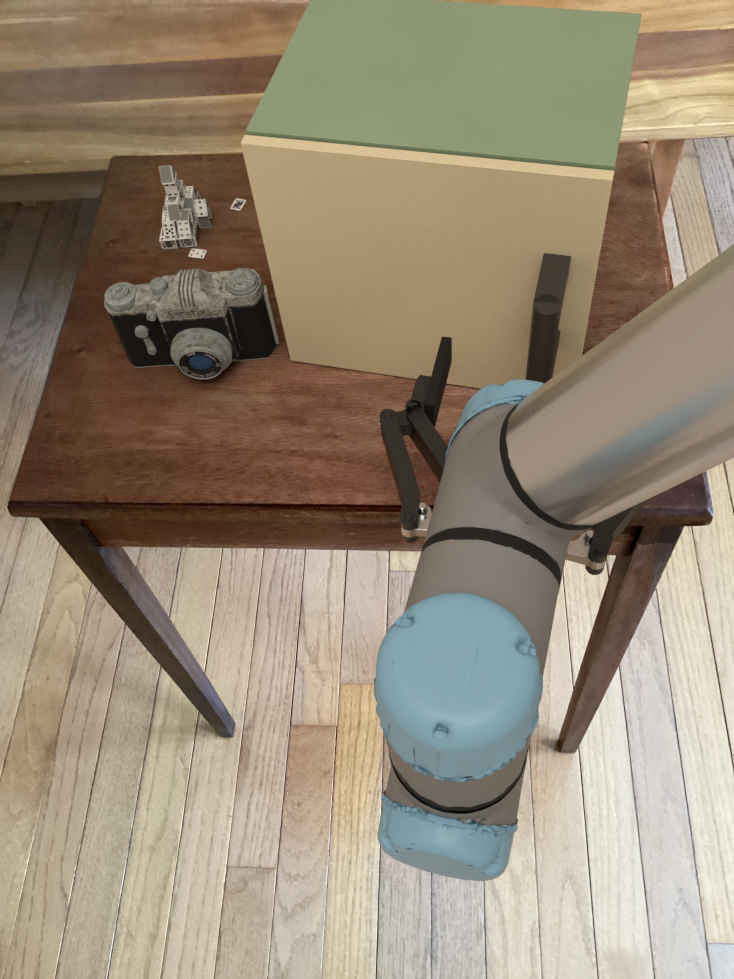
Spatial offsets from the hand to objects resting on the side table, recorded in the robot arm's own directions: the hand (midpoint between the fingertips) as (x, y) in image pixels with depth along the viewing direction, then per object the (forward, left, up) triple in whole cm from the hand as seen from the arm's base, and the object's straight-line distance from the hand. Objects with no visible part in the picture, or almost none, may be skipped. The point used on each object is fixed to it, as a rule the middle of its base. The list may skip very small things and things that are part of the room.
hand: (536, 360), depth 69 cm
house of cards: (+44, 0, -12) cm, 45 cm away
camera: (+30, +12, -12) cm, 34 cm away
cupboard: (+17, -9, -12) cm, 23 cm away
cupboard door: (+10, +2, -12) cm, 16 cm away
